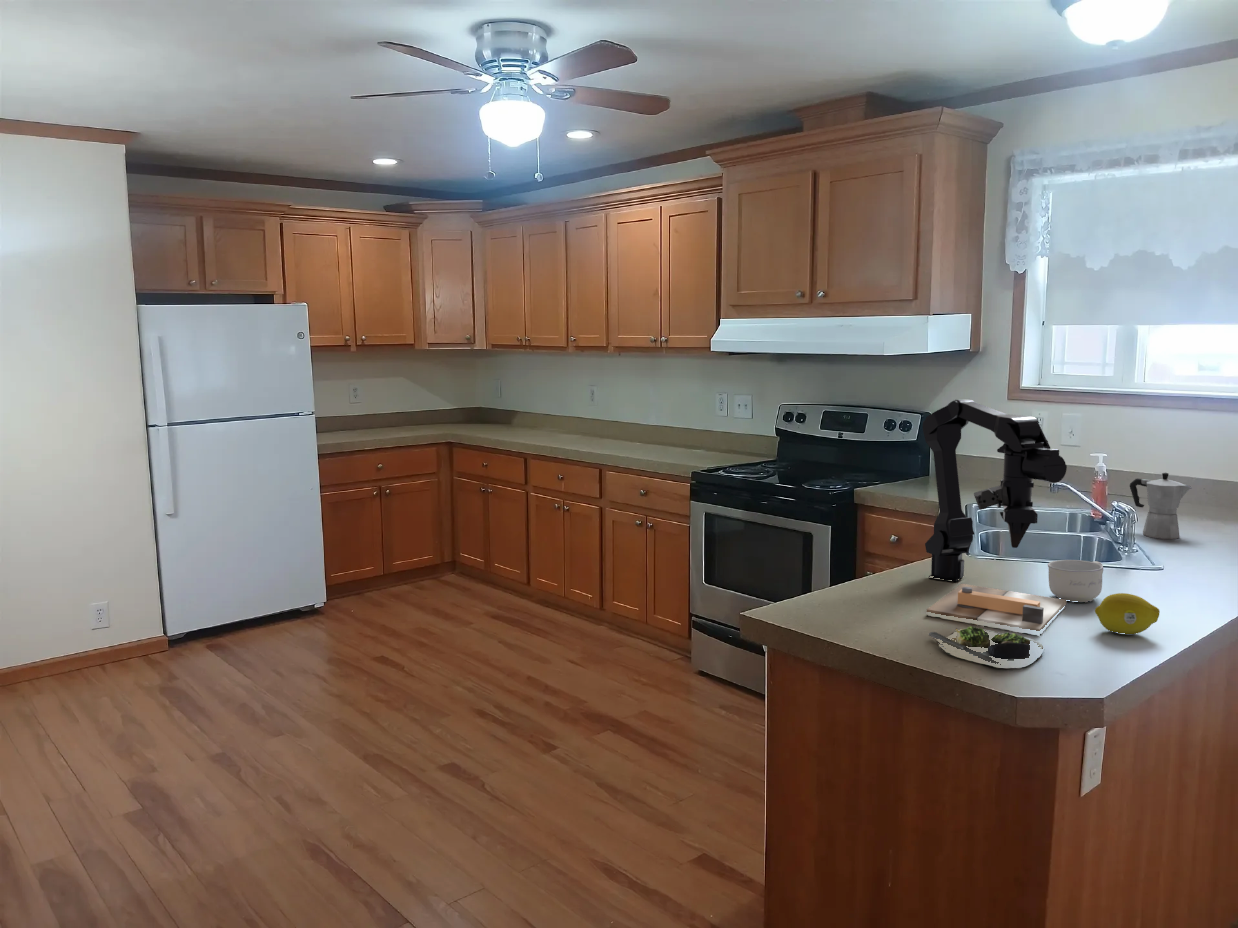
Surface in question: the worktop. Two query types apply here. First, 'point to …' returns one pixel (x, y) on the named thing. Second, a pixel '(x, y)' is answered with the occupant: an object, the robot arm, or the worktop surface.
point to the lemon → (1126, 613)
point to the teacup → (1075, 579)
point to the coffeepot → (1161, 506)
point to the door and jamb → (1028, 620)
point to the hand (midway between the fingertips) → (1014, 547)
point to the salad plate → (977, 637)
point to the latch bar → (993, 601)
